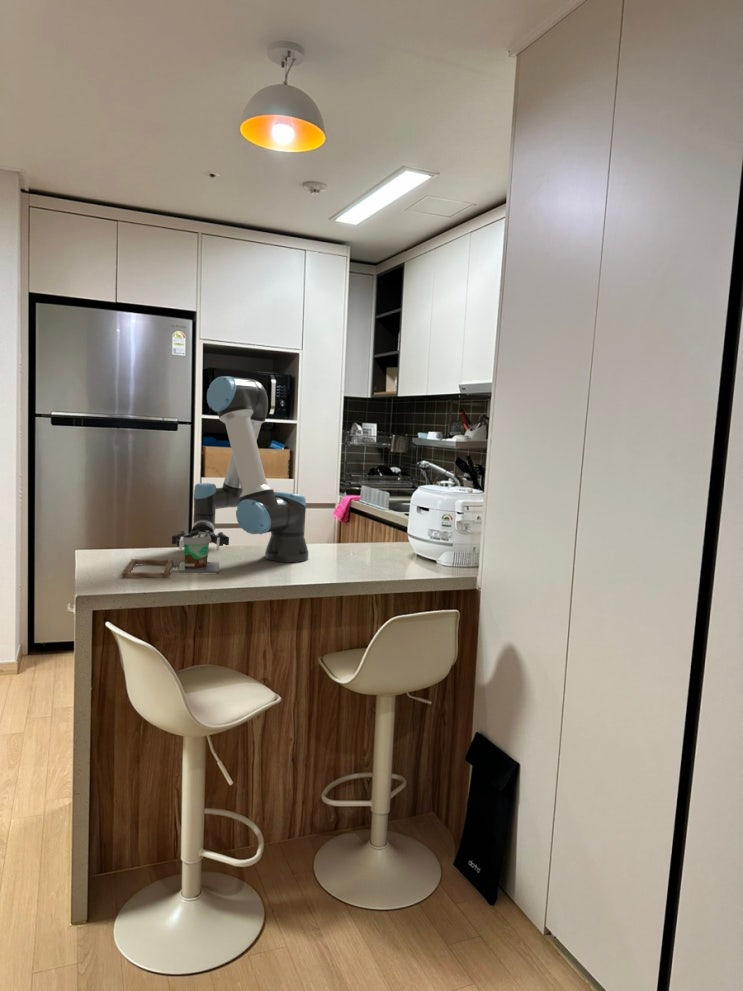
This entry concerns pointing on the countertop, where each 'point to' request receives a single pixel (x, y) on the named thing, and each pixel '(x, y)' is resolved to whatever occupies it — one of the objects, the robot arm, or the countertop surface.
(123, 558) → the countertop surface
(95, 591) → the countertop surface
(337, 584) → the countertop surface
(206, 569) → the plate
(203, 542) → the food container
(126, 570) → the walnut holder
